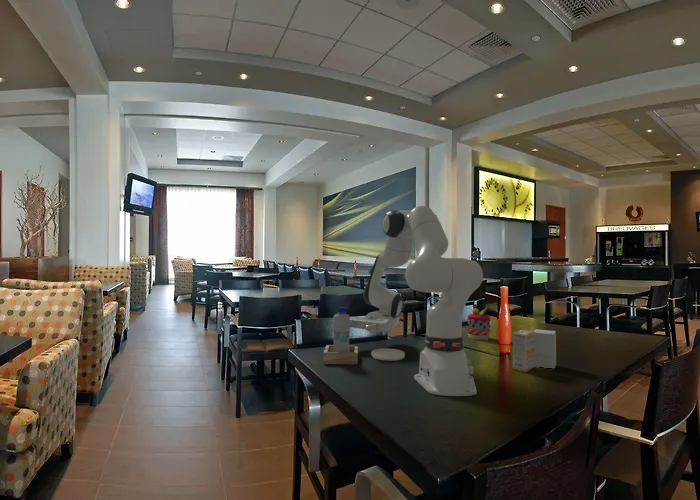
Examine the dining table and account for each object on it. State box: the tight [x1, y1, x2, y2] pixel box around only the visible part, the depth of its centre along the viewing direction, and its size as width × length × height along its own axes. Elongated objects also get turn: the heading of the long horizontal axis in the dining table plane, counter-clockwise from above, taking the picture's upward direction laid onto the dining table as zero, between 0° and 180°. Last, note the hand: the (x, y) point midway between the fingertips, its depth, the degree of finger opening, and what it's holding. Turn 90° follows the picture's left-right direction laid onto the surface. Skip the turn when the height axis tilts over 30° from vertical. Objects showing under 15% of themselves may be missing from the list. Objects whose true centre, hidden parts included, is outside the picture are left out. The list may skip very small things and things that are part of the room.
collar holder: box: [322, 344, 359, 365], centre depth 152 cm, size 12×12×4 cm
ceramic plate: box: [370, 348, 406, 362], centre depth 157 cm, size 13×13×2 cm
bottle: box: [332, 306, 351, 352], centre depth 152 cm, size 7×7×20 cm
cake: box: [466, 306, 491, 341], centre depth 193 cm, size 10×11×15 cm
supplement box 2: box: [533, 328, 557, 370], centre depth 146 cm, size 7×7×13 cm
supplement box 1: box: [512, 329, 536, 373], centre depth 142 cm, size 8×5×13 cm, turn 135°
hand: (357, 326), depth 160 cm, fingers open, 8 cm apart
